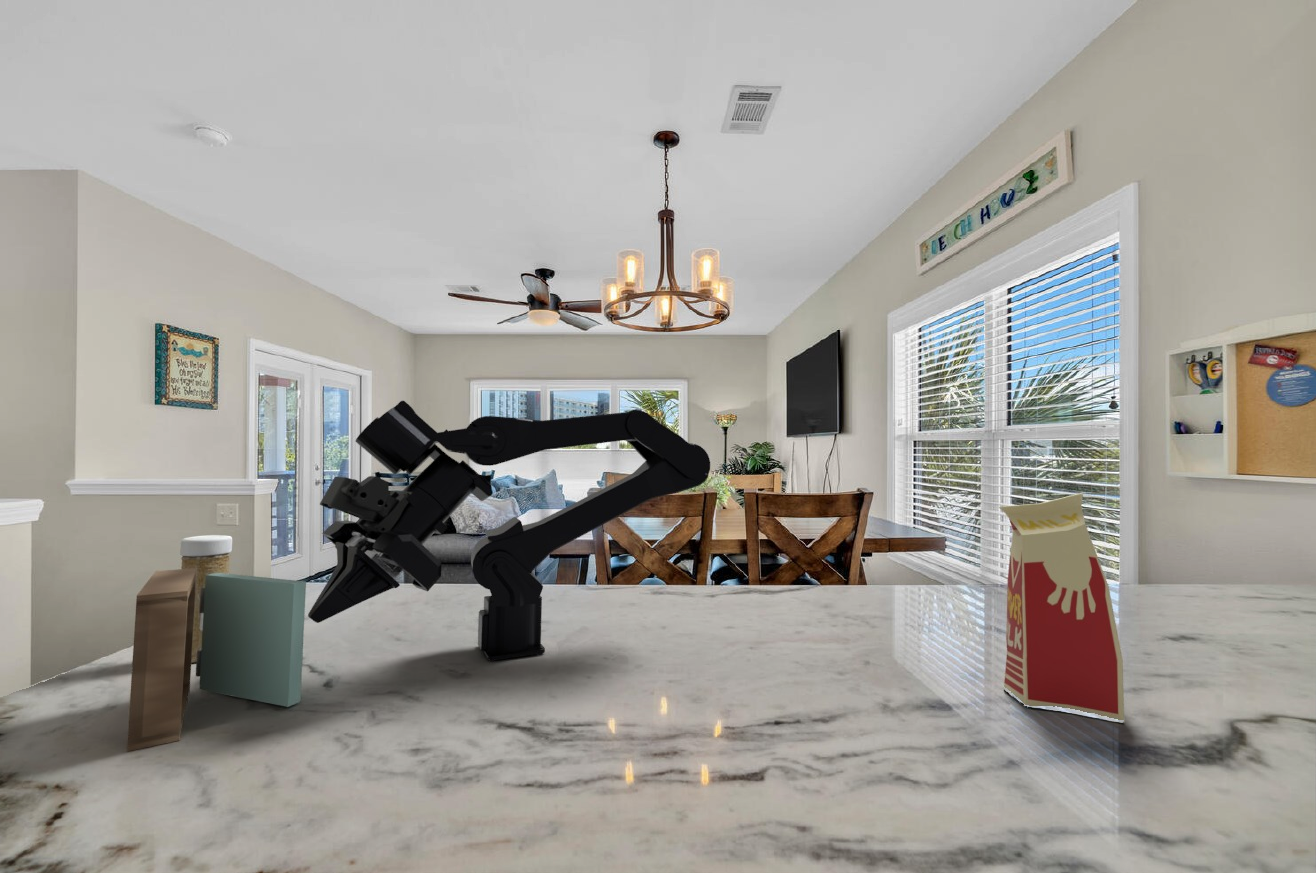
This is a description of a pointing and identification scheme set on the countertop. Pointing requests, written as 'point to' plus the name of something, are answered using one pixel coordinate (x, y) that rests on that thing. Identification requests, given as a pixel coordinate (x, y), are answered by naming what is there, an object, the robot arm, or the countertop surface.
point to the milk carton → (1060, 613)
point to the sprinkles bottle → (204, 571)
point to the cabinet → (161, 658)
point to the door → (252, 637)
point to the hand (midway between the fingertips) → (312, 619)
